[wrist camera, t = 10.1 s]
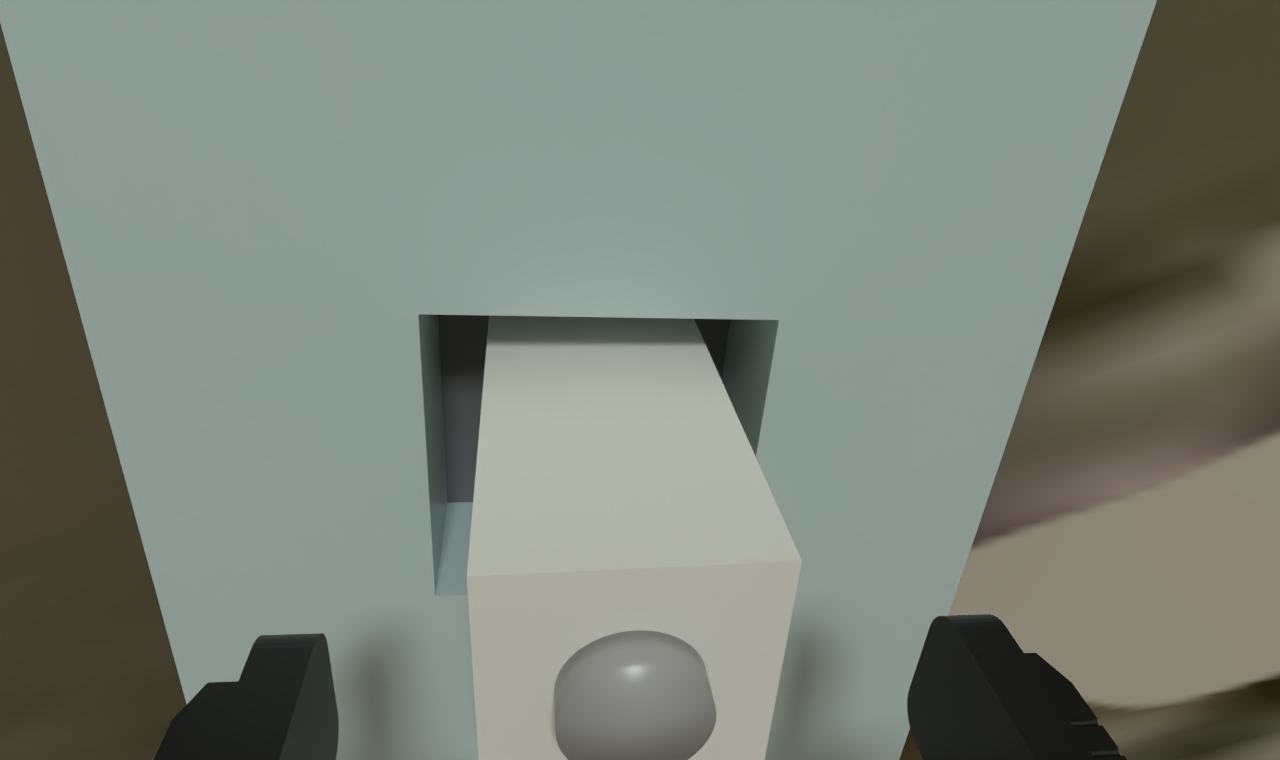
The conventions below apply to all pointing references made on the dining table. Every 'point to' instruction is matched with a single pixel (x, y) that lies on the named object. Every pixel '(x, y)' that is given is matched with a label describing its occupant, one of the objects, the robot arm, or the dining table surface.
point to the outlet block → (558, 292)
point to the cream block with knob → (621, 550)
